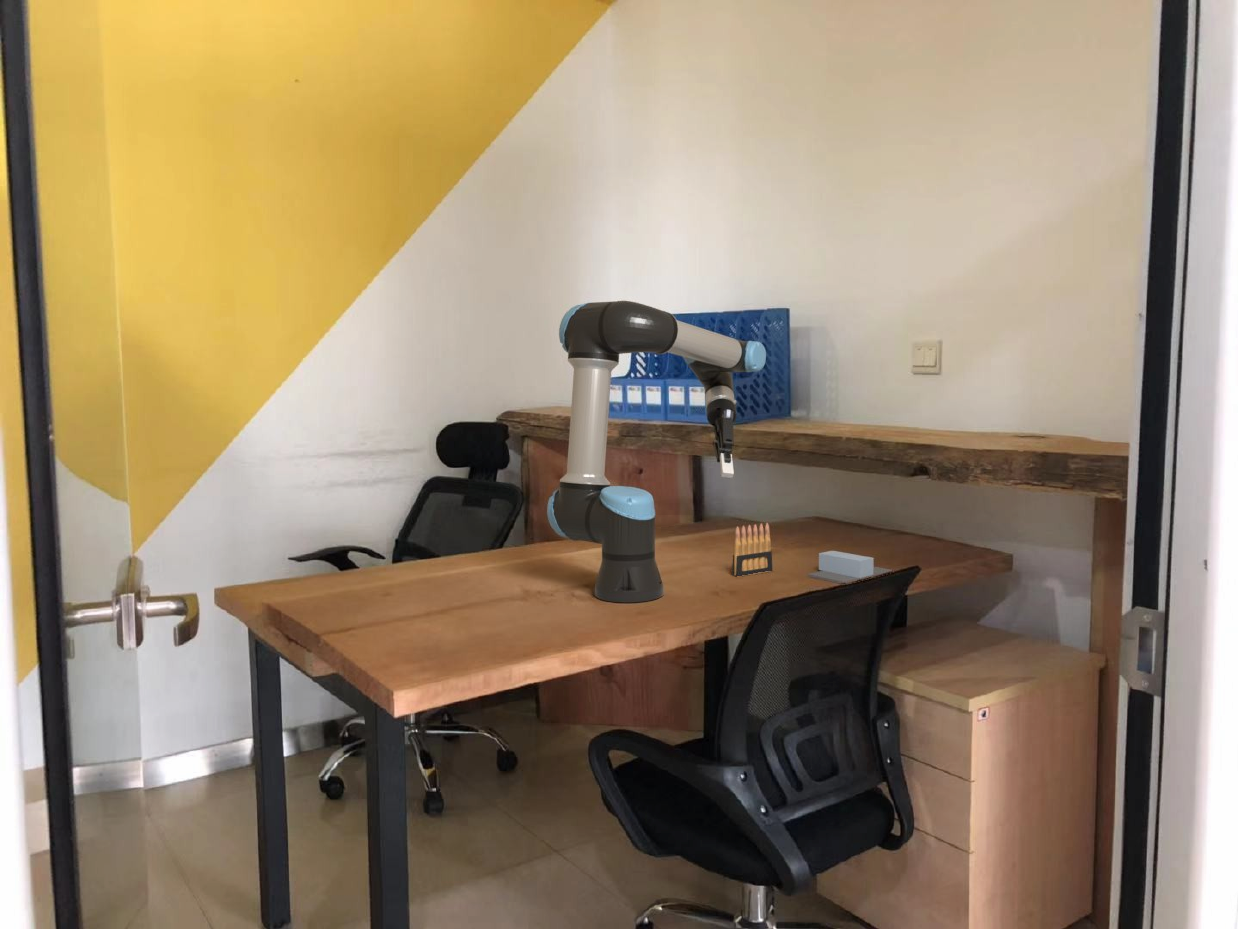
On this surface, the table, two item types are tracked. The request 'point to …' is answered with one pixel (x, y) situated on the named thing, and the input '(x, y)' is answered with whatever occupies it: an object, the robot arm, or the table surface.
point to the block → (846, 564)
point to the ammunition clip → (752, 551)
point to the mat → (844, 578)
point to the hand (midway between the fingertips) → (727, 475)
